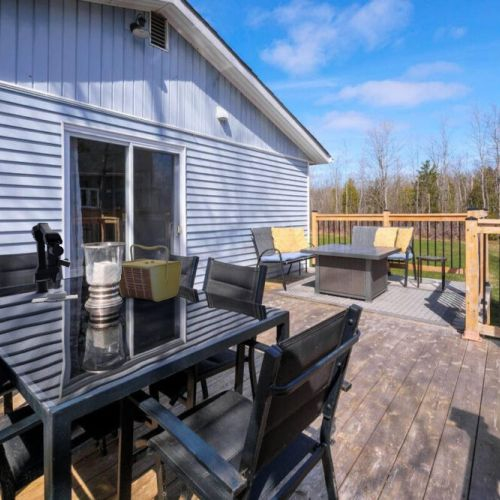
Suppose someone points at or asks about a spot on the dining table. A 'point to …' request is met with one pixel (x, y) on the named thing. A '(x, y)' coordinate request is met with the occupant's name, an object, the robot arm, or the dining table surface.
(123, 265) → the picnic basket
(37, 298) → the placemat
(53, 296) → the donut
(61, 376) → the dining table surface
